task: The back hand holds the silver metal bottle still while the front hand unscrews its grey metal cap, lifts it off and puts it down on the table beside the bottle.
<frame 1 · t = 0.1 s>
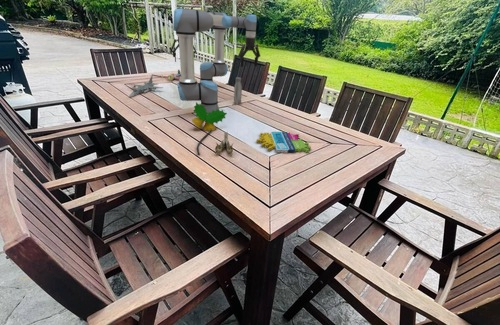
front hand: (184, 61, 211), 28 cm above the table, tool pointing down, fingers open, 13 cm apart
back hand: (248, 66, 212), 28 cm above the table, tool pointing down, fingers open, 13 cm apart
toy: (175, 78, 281), on the table
airplane: (144, 91, 229), on the table
ornament: (209, 128, 165), on the table
cap: (238, 78, 205), point 20 cm above the table, screwed on, not yet turned
packaged fuzzy gloves: (281, 143, 152), on the table
bottle: (237, 103, 215), on the table
jawbone: (224, 151, 138), on the table
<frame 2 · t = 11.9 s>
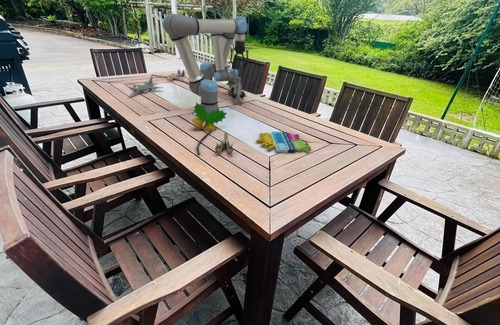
front hand: (238, 73, 203), 25 cm above the table, tool pointing down, fingers open, 7 cm apart
back hand: (238, 97, 207), 6 cm above the table, tool horizontal, fingers closed on bottle, 6 cm apart
bottle: (237, 103, 215), on the table, touching back hand
everything else where it was.
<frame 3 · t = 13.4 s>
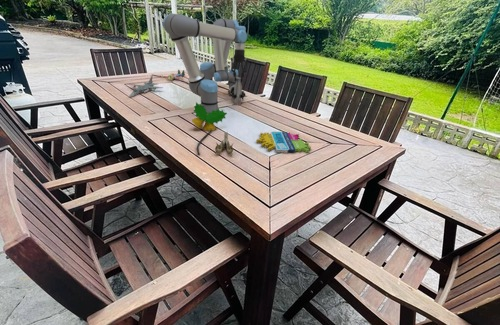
front hand: (238, 81, 206), 18 cm above the table, tool pointing down, fingers closed on cap, 4 cm apart
back hand: (238, 97, 207), 6 cm above the table, tool horizontal, fingers closed on bottle, 6 cm apart
cap: (238, 78, 205), point 20 cm above the table, screwed on, not yet turned, touching front hand
bottle: (237, 103, 215), on the table, touching back hand
everything else where it was.
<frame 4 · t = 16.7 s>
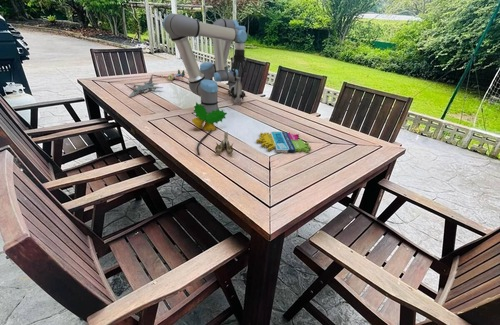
front hand: (238, 81, 206), 18 cm above the table, tool pointing down, fingers closed on cap, 4 cm apart
back hand: (238, 97, 207), 6 cm above the table, tool horizontal, fingers closed on bottle, 6 cm apart
cap: (238, 78, 205), point 21 cm above the table, turned 111° so far, risen 0.1 cm, still on its thread, touching front hand
bottle: (237, 103, 215), on the table, touching back hand
everything else where it was.
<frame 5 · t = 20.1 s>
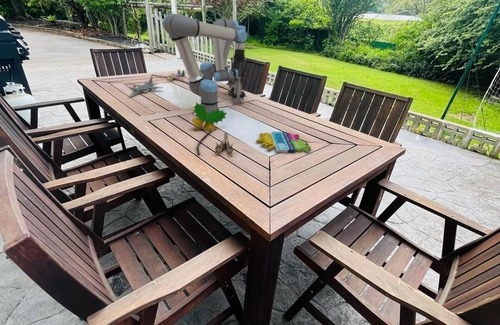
front hand: (238, 80, 206), 18 cm above the table, tool pointing down, fingers closed on cap, 4 cm apart
back hand: (238, 97, 207), 6 cm above the table, tool horizontal, fingers closed on bottle, 6 cm apart
cap: (238, 78, 205), point 21 cm above the table, turned 222° so far, risen 0.2 cm, still on its thread, touching front hand
bottle: (237, 103, 215), on the table, touching back hand
everything else where it was.
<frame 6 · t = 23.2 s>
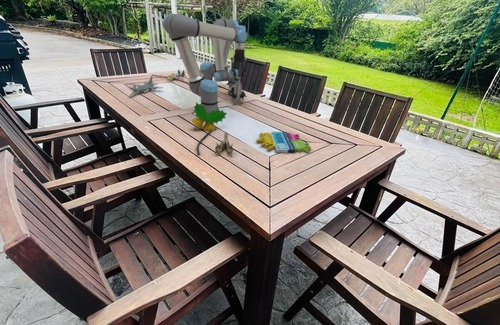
front hand: (238, 80, 206), 19 cm above the table, tool pointing down, fingers closed on cap, 4 cm apart
back hand: (238, 97, 207), 6 cm above the table, tool horizontal, fingers closed on bottle, 6 cm apart
cap: (238, 78, 205), point 21 cm above the table, turned 333° so far, risen 0.3 cm, still on its thread, touching front hand
bottle: (237, 103, 215), on the table, touching back hand
everything else where it was.
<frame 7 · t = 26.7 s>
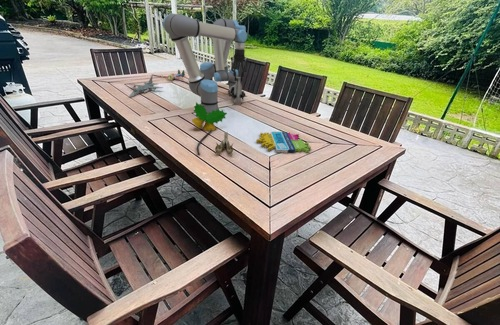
front hand: (238, 80, 206), 19 cm above the table, tool pointing down, fingers closed on cap, 4 cm apart
back hand: (238, 97, 207), 6 cm above the table, tool horizontal, fingers closed on bottle, 6 cm apart
cap: (238, 77, 205), point 21 cm above the table, turned 444° so far, risen 0.4 cm, still on its thread, touching front hand
bottle: (237, 103, 215), on the table, touching back hand
everything else where it was.
when the front hand's fingers open (2 cm above the table, at t = 33.0 s): cap drops 2 cm, point 2 cm above the table.
when the back hand's fingers open (6 cm above the table, at t = 34.2 s): bottle stays where it is, on the table.
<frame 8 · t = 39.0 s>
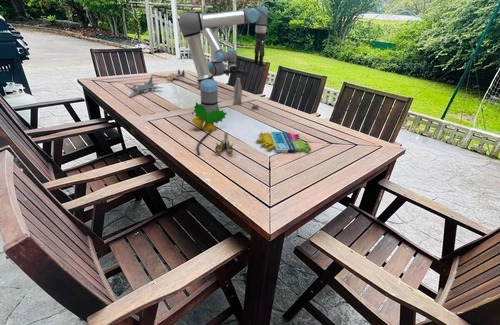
front hand: (258, 65, 191), 33 cm above the table, tool pointing down, fingers open, 13 cm apart
back hand: (236, 74, 213), 21 cm above the table, tool horizontal, fingers open, 13 cm apart
cap: (255, 105, 206), point 2 cm above the table, off its thread
bottle: (237, 103, 215), on the table
everything else where it was.
at the end: cap came off its thread; cap point 2.1 cm above the table; the front hand is holding nothing; the back hand is holding nothing; bottle tilted 0°; bottle moved 0.0 cm from its start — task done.
